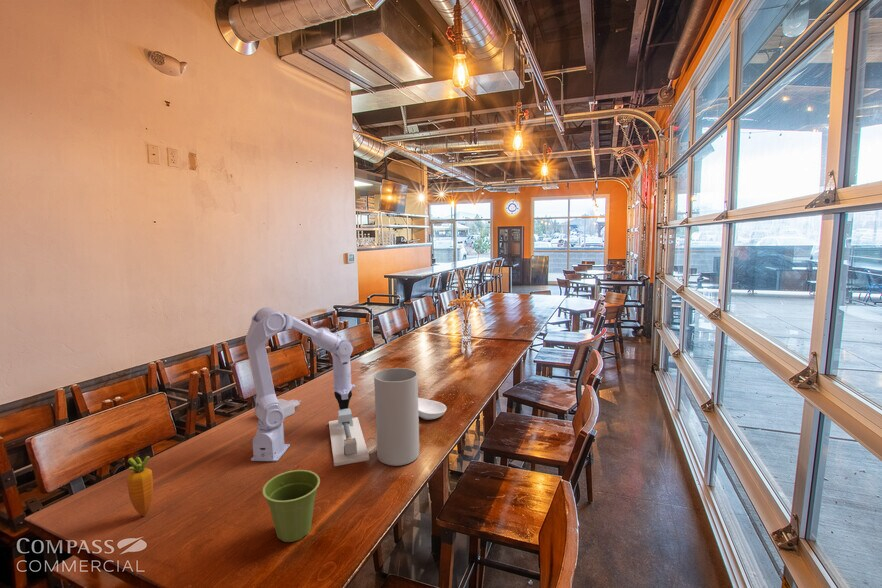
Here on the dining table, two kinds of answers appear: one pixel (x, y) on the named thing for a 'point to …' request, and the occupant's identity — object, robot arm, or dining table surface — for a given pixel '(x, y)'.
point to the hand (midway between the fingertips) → (344, 412)
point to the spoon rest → (430, 409)
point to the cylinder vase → (397, 416)
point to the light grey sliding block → (345, 417)
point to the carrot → (140, 485)
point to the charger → (288, 406)
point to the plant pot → (292, 502)
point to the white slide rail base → (347, 443)
